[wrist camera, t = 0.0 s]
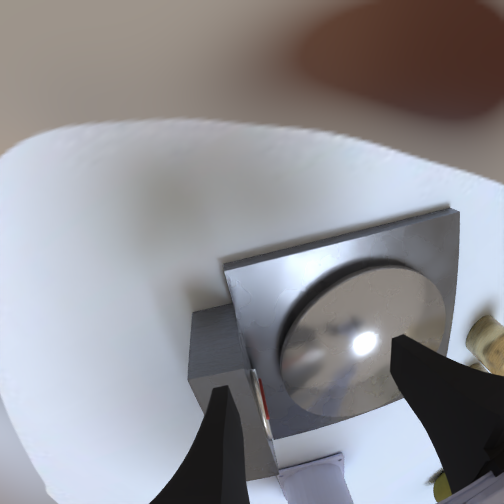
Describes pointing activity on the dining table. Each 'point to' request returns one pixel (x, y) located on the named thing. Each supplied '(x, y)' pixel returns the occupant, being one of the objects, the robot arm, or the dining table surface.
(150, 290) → the dining table surface
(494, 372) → the cylinder
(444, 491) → the apple
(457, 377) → the robot arm
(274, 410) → the scale
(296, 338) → the scale pan
